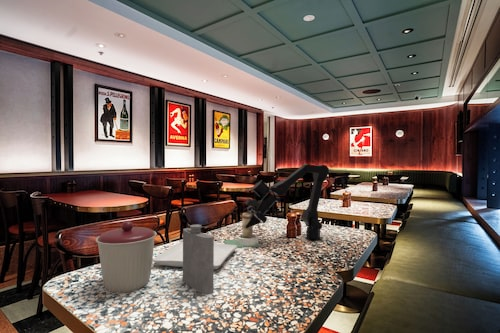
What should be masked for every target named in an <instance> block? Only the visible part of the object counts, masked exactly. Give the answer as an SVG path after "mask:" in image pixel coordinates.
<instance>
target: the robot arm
mask: <svg viewBox="0 0 500 333" xmlns="http://www.w3.org/2000/svg"><path fill="white" fill-rule="evenodd" d="M329 172H330V168H329V167H328V166H327V165H326V164H316V165H313V164H309V163H304V164H302V165H301V166H300V167H299V168H297V169H296V170H295V171H293V172H292V173H291V174H290V175H288V176H287V177H286V178H284V179H282V180H280V181H278V182H276V183H274V184H273V185H271V186H268V184H266V183H265V181H264V180H262V179H261V180H260V181H258V182H256V183H255V184H254V185H253V187H252V188H251V190H252V191H254V193H255V194H256V195H257V196H258V197H260V198H262V199H261V200H257V199H255V198H252V199H251V198H249V197H247V198H246V201H245V202H244V204H246V205H247V206H248V207H246V209H247V213H253V214H252V218H251V219H250V221H249V222H248V224H247V225H246V228H249V227H251V226H253V227H254V226H257V225H258V224H262V223H263V224H265V223H266V222H268V217H267V216H266V215H265V214H266V213H267V212H270V210H271V209H270V208H271V207H272V206H273V205H274V204H275V202H277V203H279V204H280V203H281V197H280V196H284V195H285V194H286V193H287V192H288V191H289V189H290V188H291V187H292V185H293V184H295V183H296V182H297V181H299V179H301V178H302V177H303V176H305V175H306V174H307V173H312V178H313V183H312V188H311V193H310V196H309V197H310V198H309V201H308V206H307V208H306V209H305V208H304V209H303V211H302V215H301V219H302V221H303V222H304V224H305V226H306V231H305V232H306V234H305V235H306V236H305V239H306V240H309V241H311V242H314V241H315V242H317V241H321V240H323V238H321V229H322V228H323V224H322V223H321V222H320V221H319V211H318V207H319V202H320V198H321V193H322V189H323V185H324V181H326V180H327V178H328V175H329Z"/></svg>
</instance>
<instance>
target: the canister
mask: <svg viewBox="0 0 500 333" xmlns="http://www.w3.org/2000/svg"><path fill="white" fill-rule="evenodd" d="M156 237H157V232H156V231H155V230H153V229H152V228H148V227H142V226H134V223H133V222H132V221H130V220H129V221H127V220H126V221H123V222H122V223H121V226H120V227H119V228H115V229H110V230H107V231H105V232H103V233H101V234H100V235H98V236H97V237H96V238H95V240H94V241H95V242H96V243H97V246H98V253H99V254H98V256H99V262H100V269H101V276H102V282H103V286H104V287H105V289H106V290H107V291H109V292H111V293H115V294H116V293H117V294H118V293H120V294H122V293H128V292H133V291H137V290H139V289H142V288H143V287H145V286H146V285H147V284H148V283H149V280H150V278H151V272H152V266H153V261H152V259H153V257H154V249H155V247H154V246H155V238H156Z"/></svg>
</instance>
